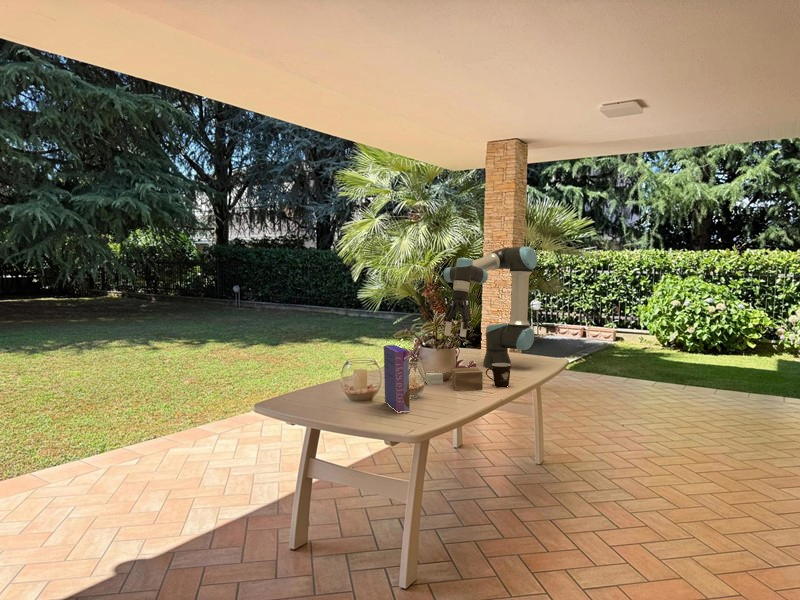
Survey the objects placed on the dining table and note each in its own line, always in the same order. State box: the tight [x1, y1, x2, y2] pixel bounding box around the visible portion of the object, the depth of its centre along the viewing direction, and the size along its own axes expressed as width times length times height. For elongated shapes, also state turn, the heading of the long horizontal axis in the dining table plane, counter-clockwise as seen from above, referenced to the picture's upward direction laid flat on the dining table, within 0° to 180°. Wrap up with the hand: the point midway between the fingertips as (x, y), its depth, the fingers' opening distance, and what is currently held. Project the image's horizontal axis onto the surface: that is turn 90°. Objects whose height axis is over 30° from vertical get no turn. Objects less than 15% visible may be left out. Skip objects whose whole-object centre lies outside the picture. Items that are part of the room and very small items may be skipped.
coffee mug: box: [485, 363, 512, 388], centre depth 256 cm, size 12×9×10 cm
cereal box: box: [383, 344, 411, 412], centre depth 221 cm, size 17×5×24 cm, turn 18°
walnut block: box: [451, 366, 484, 392], centre depth 255 cm, size 12×12×8 cm
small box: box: [424, 372, 444, 385], centre depth 266 cm, size 8×8×5 cm
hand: (454, 336), depth 258 cm, fingers open, 13 cm apart
